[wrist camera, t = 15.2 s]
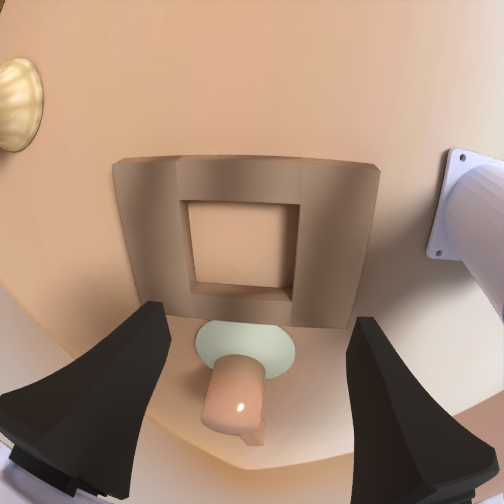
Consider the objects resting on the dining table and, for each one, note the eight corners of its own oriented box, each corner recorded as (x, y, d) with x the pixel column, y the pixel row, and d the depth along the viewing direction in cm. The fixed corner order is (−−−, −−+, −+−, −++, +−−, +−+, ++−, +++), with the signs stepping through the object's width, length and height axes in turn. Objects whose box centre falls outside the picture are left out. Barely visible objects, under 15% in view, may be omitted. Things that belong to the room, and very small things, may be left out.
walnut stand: (373, 164, 17) (380, 171, 15) (344, 315, 23) (346, 328, 22) (123, 158, 18) (112, 164, 17) (150, 300, 24) (143, 311, 23)
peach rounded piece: (205, 357, 27) (190, 410, 22) (255, 351, 26) (247, 408, 21) (240, 405, 31) (232, 450, 26) (282, 401, 30) (279, 449, 25)
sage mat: (300, 318, 23) (300, 320, 23) (290, 381, 28) (290, 384, 28) (189, 309, 24) (188, 311, 24) (202, 373, 29) (201, 375, 29)
